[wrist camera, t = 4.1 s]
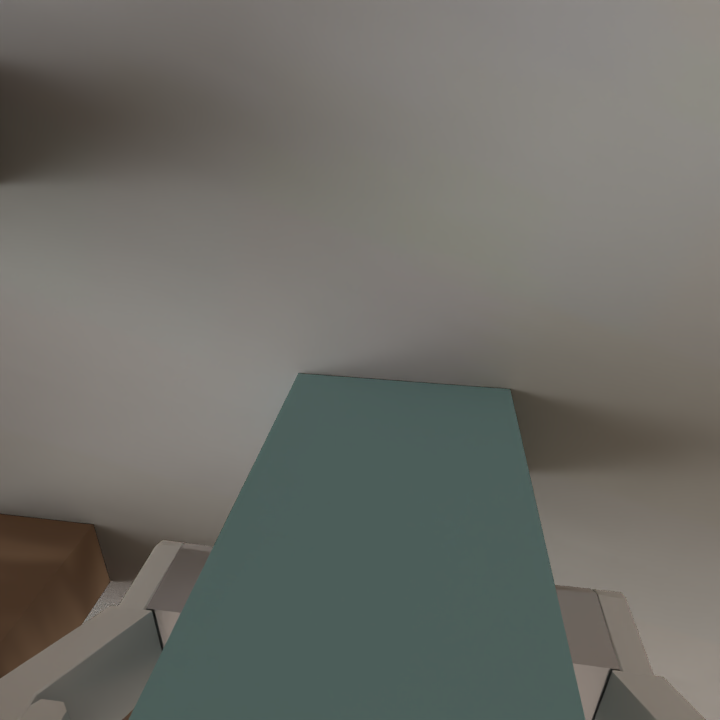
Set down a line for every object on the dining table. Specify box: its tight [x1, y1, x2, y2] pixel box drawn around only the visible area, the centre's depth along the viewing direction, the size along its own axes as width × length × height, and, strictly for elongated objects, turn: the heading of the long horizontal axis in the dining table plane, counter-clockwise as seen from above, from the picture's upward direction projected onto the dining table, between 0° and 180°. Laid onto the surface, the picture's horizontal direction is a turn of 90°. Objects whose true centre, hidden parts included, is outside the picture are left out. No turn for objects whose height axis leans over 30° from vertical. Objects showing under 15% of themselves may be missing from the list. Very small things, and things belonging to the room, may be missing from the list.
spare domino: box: [129, 373, 585, 720], centre depth 11 cm, size 3×6×12 cm, turn 89°
